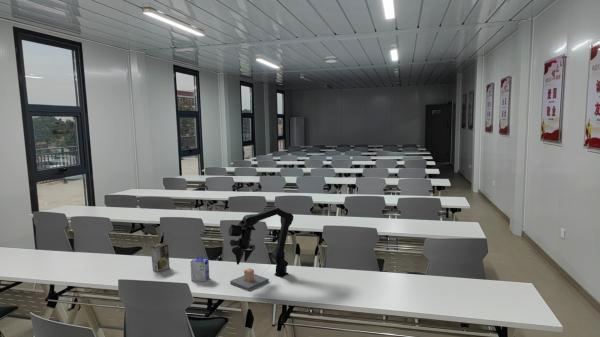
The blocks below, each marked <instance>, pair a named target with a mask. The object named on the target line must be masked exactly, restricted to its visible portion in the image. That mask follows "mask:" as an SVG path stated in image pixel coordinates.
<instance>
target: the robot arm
mask: <svg viewBox="0 0 600 337" xmlns="http://www.w3.org/2000/svg"><path fill="white" fill-rule="evenodd" d="M273 216H278V217H279V218H280V230H279V235H278V240H277V243H276V244H277V245H276V247H275V249H274V250H272V251H271V255H270V257H271V260H272V261H273V262H274V264H275V273H274V276H277V277H280V278H283V277H285V276H287V275H289V272H287V271H288V270H287V269H288V268H287V267H288V266H289V262H288V261H287V260H286V259H285V258H286V257H285V246H286V243H287V236H288V232H289V228H290V226H291V225H292V223H293V221H294V215H293V214H292V213H291V212H289V211H284V210H282V209H280V208H279V207H276V206H274V207H273V208H269V209H267V210H264V211H261V212H258V213H251V214H245V215H243V217H242V219H241V220H240V222H238V224H234V223H231V224H230V226H229V228H228V233H227V234H228V236H229V237H239V238H238V239H230V242H229V245H230V246H231V253H232V254H234V255H235V256H234V257H235V260H236V261H235V262H236V265H240V263H241V261H242V259H243V260H244V262H247V261H248V259H249V258H250V257H251V255H252V253H253V252H254V251H255V250H256V246H255V244H252V243H251V242H252V238H251V237H252V231H256V228H255V227H254V225H256V224H258V223H259V222H260V221H262V220H263V221H264V220H265V219H269V218H271V217H273ZM243 257H244V258H243Z"/></svg>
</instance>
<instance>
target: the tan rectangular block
mask: <svg viewBox="0 0 600 337" xmlns="http://www.w3.org/2000/svg"><path fill="white" fill-rule="evenodd" d="M243 271H244V272H243V273H244V274H243V276H245V281H247V282H251V281H254V274H255V269H253V268H247V269H244V270H243Z"/></svg>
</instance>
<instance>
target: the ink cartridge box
mask: <svg viewBox="0 0 600 337" xmlns="http://www.w3.org/2000/svg"><path fill="white" fill-rule="evenodd" d="M189 263H190V279H191V280H190V281H194V282H195V281H196V282H198V281H199V282H207V281H208V280H209V279H210V264H209V263H210V262H209V258H204V255H197V258H193V259H192V260H191V261H190V262H189Z"/></svg>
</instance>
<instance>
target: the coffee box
mask: <svg viewBox="0 0 600 337" xmlns="http://www.w3.org/2000/svg"><path fill="white" fill-rule="evenodd" d="M150 253H151V254H150V255H151V265H152V268H151V269H152V271H155V272H157V273H159V272H162V271H163V270H167V269H170V266H171V265H170V257H169V255H170V254H169V244H167V243H164V242H161V243H158V244H155V245H152V246H150Z"/></svg>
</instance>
